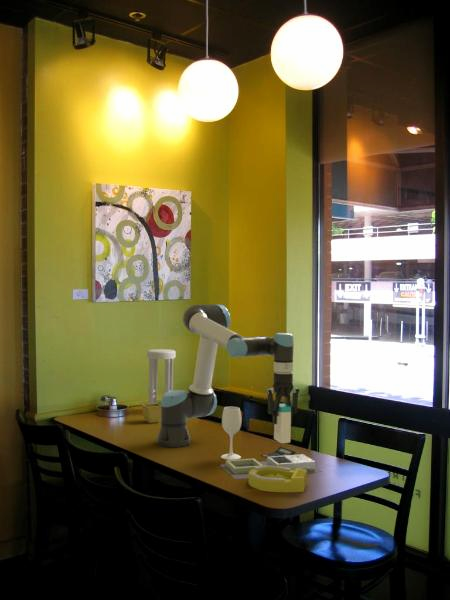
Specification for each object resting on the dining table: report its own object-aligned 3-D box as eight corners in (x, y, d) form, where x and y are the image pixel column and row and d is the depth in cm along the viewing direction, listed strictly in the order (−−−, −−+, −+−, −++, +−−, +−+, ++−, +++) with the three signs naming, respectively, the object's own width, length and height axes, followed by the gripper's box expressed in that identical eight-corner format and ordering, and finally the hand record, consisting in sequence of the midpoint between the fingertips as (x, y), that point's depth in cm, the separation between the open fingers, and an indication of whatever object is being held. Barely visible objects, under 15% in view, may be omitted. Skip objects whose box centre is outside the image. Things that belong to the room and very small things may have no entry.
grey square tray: (234, 473, 239) (234, 468, 239) (225, 465, 249) (225, 460, 249) (263, 471, 242) (263, 466, 242) (253, 463, 253) (254, 458, 253)
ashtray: (301, 495, 217) (302, 481, 216) (243, 488, 222) (244, 474, 222) (308, 480, 232) (308, 467, 232) (254, 474, 238) (254, 461, 238)
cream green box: (280, 443, 242) (281, 407, 242) (274, 438, 249) (274, 404, 248) (290, 442, 243) (291, 406, 243) (283, 438, 250) (283, 403, 249)
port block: (277, 473, 240) (277, 463, 240) (266, 465, 250) (266, 456, 250) (315, 470, 245) (315, 460, 245) (303, 462, 255) (303, 453, 255)
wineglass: (244, 456, 265) (244, 407, 264) (237, 461, 256) (238, 410, 256) (224, 454, 267) (225, 405, 267) (217, 459, 259) (218, 409, 259)
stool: (176, 410, 358) (177, 349, 357) (170, 415, 343) (171, 352, 342) (150, 409, 360) (151, 348, 359) (143, 414, 345) (144, 351, 344)
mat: (235, 480, 232) (235, 479, 232) (219, 465, 250) (219, 464, 250) (322, 472, 243) (322, 471, 243) (301, 459, 261) (301, 458, 261)
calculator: (260, 457, 265) (260, 450, 265) (280, 453, 272) (281, 446, 272) (274, 462, 257) (274, 455, 257) (295, 458, 264) (295, 451, 264)
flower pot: (141, 421, 328) (141, 404, 328) (156, 419, 332) (157, 402, 332) (147, 424, 321) (147, 407, 320) (163, 423, 325) (163, 405, 325)
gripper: (266, 374, 239) (265, 435, 240) (307, 373, 244) (306, 432, 245) (259, 371, 246) (258, 430, 247) (299, 370, 251) (298, 428, 252)
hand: (282, 431), depth 246 cm, fingers closed on cream green box, 4 cm apart
